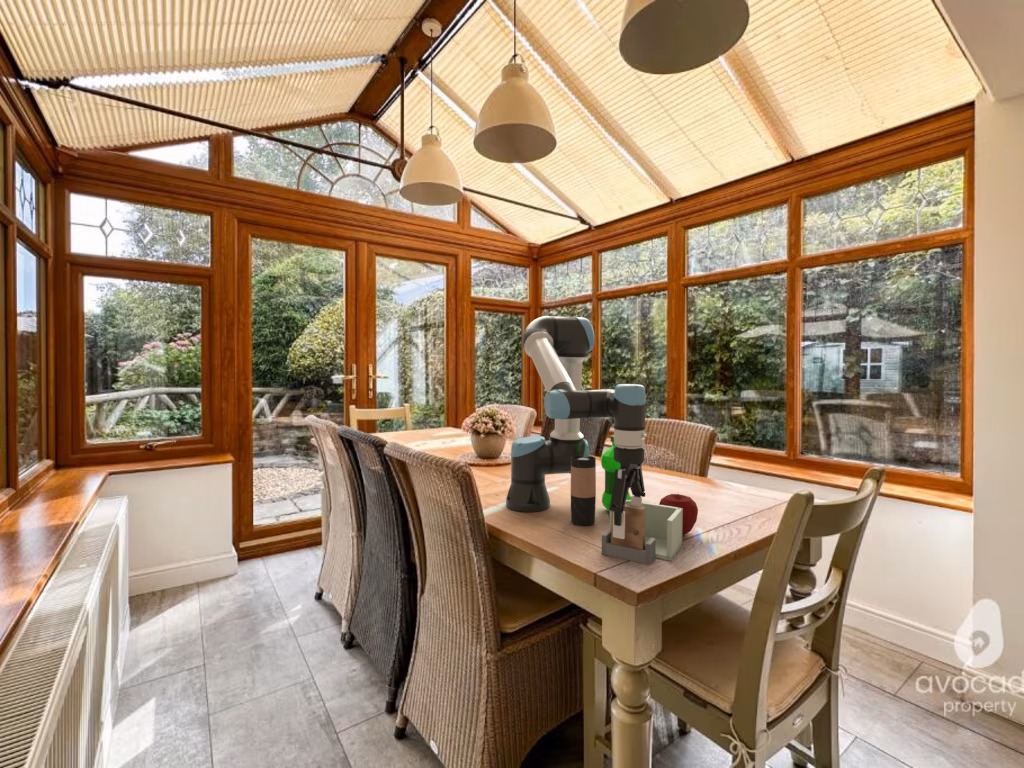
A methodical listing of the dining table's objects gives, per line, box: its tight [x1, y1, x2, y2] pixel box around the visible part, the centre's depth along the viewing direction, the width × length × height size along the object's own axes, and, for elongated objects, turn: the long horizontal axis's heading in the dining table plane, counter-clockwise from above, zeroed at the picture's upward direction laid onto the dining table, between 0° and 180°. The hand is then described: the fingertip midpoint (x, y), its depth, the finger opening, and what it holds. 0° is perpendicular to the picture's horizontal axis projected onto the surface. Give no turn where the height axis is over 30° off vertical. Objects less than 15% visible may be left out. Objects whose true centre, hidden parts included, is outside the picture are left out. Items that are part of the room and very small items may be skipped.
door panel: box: [611, 504, 646, 550], centre depth 118 cm, size 8×3×13 cm, turn 58°
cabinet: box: [601, 500, 683, 566], centre depth 123 cm, size 16×17×10 cm
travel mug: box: [570, 455, 597, 527], centre depth 144 cm, size 8×8×20 cm
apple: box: [658, 493, 699, 537], centre depth 134 cm, size 11×11×12 cm
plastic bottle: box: [600, 434, 632, 513], centre depth 155 cm, size 10×10×25 cm
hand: (627, 529), depth 119 cm, fingers open, 13 cm apart
